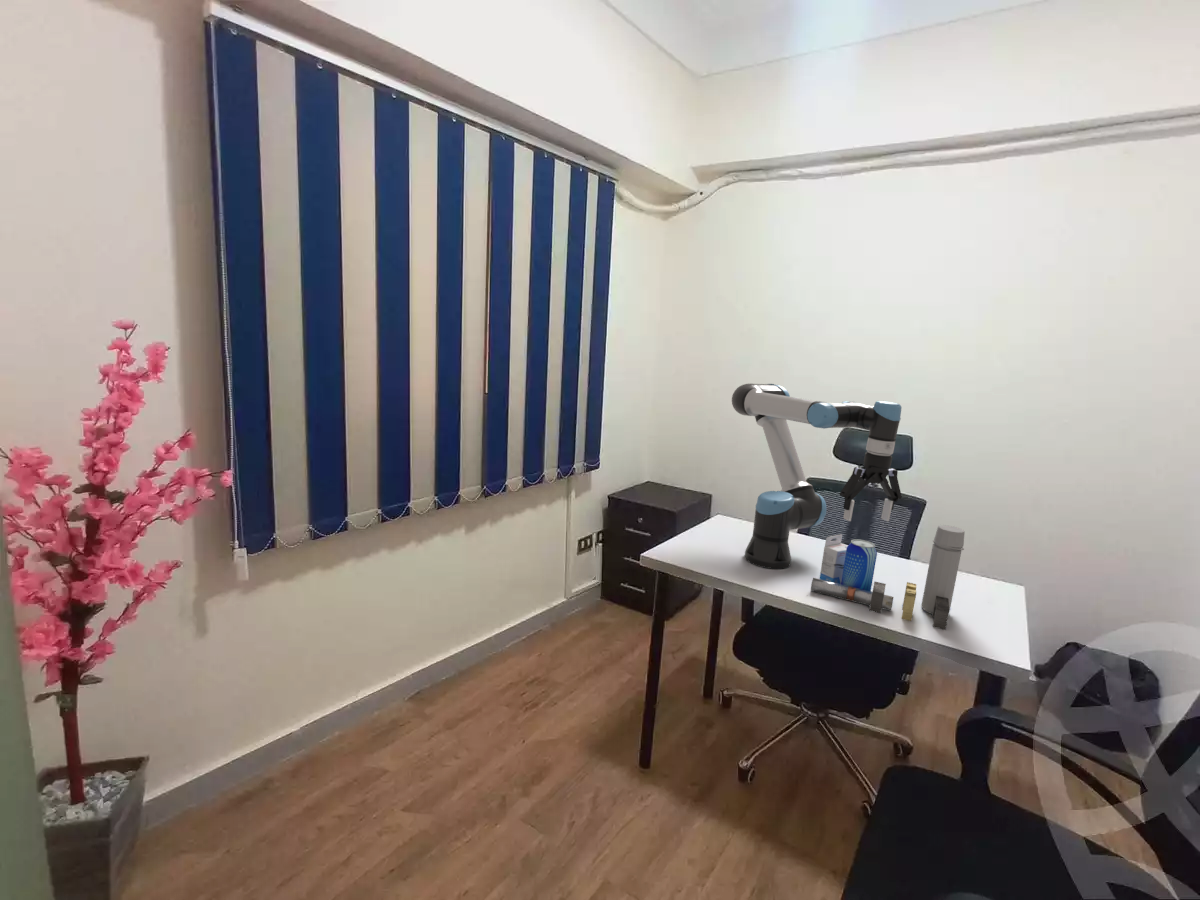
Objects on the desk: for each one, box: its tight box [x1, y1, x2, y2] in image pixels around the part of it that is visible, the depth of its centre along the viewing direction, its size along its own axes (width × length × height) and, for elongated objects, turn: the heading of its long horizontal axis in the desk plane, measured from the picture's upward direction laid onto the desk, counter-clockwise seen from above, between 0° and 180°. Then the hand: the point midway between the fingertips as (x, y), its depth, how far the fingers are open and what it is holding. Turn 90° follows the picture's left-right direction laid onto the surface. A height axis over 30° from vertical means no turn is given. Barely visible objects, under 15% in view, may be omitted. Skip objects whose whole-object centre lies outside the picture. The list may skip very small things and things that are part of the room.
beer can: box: [841, 538, 878, 591], centre depth 180 cm, size 8×8×16 cm
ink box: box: [819, 533, 848, 584], centre depth 187 cm, size 8×5×15 cm, turn 123°
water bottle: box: [921, 524, 965, 615], centre depth 170 cm, size 9×8×25 cm
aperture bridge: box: [901, 581, 917, 622], centre depth 168 cm, size 2×8×8 cm, turn 152°
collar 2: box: [931, 596, 951, 631], centre depth 165 cm, size 3×8×6 cm, turn 152°
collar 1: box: [869, 581, 887, 614], centre depth 172 cm, size 3×8×6 cm, turn 152°
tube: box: [810, 577, 894, 611], centre depth 175 cm, size 22×4×4 cm, turn 62°
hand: (866, 519), depth 184 cm, fingers open, 13 cm apart
